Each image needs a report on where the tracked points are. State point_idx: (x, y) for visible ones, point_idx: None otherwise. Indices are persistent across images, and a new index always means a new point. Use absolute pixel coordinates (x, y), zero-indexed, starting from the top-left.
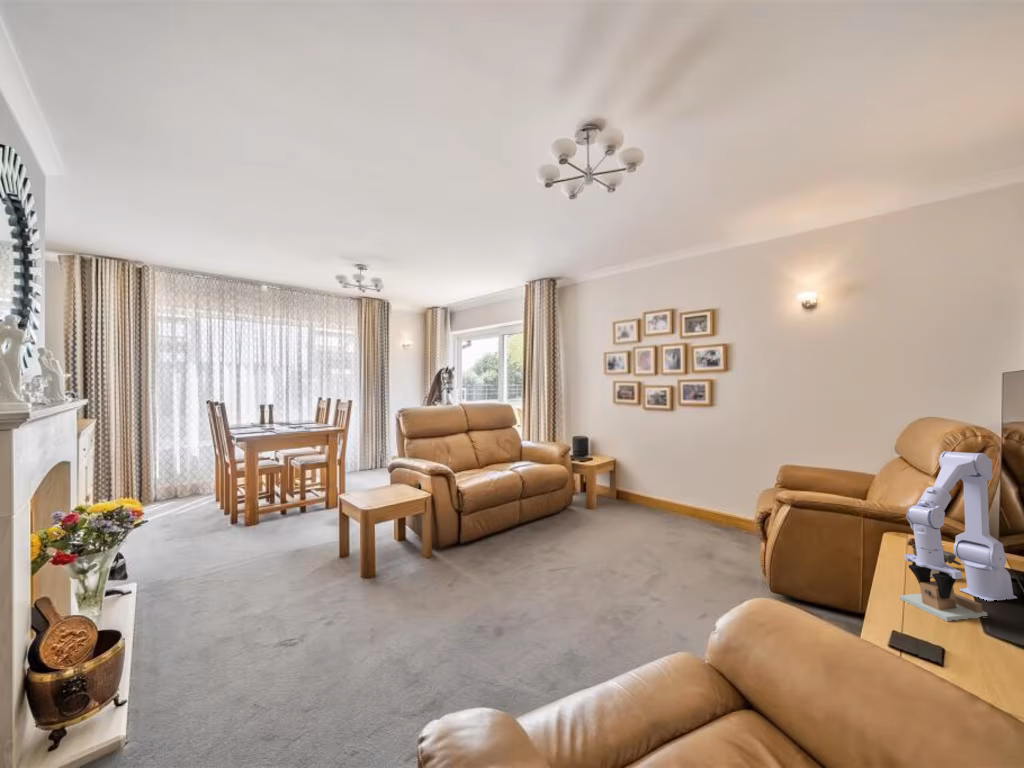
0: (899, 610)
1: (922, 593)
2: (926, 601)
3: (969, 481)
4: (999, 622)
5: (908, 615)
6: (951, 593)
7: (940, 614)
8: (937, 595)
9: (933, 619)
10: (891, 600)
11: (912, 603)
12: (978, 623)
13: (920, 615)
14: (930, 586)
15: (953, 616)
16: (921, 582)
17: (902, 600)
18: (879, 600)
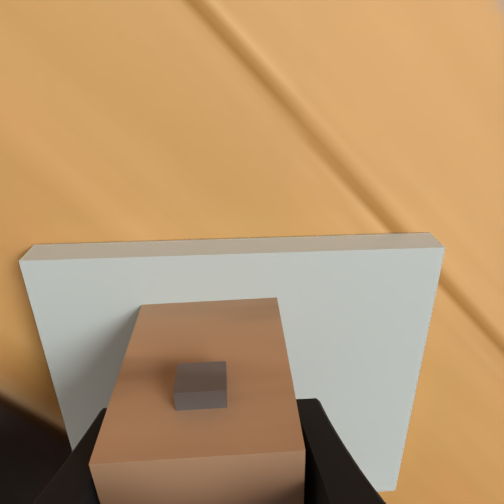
0: (265, 40)
1: (272, 356)
2: (238, 316)
3: None
4: (31, 481)
5: (158, 30)
6: None
7: (71, 259)
8: (111, 404)
9: (71, 179)
10: (445, 151)
11: (320, 242)
12: (13, 391)
13: (148, 141)
14: (171, 468)
15: (35, 315)
16: (303, 468)
17: (409, 233)
18: (491, 38)
